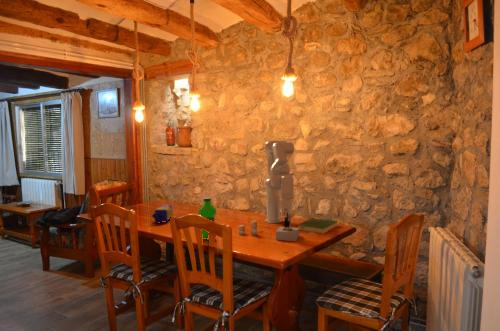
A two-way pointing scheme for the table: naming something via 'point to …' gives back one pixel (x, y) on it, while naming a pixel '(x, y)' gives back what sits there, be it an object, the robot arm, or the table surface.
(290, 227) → the long dowel
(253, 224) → the medium dowel
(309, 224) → the hardcover book
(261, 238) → the table surface
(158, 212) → the toy truck
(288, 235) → the socket block
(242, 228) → the short dowel
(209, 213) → the plastic bottle
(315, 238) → the table surface
